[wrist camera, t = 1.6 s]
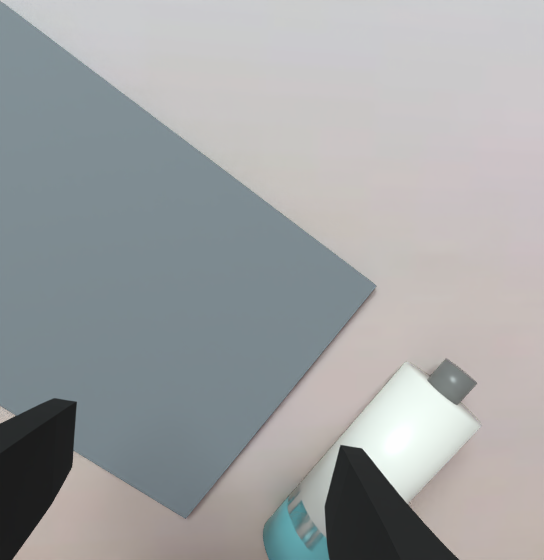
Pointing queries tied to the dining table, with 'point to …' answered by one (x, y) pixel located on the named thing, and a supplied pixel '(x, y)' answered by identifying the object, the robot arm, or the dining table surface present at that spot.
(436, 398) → the bottle
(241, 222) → the mat
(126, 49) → the dining table surface
